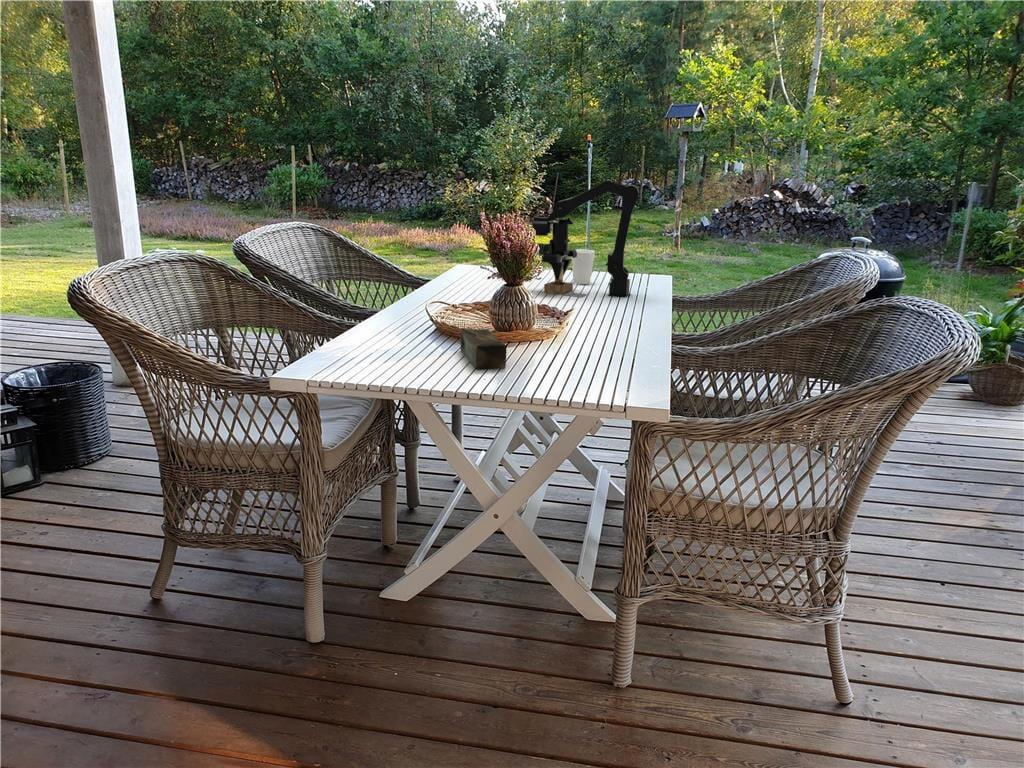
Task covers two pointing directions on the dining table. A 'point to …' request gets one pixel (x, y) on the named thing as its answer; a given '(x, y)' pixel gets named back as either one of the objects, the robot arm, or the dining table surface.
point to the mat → (576, 295)
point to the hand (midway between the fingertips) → (558, 279)
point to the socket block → (558, 288)
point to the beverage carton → (483, 349)
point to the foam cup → (582, 266)
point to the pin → (560, 279)
